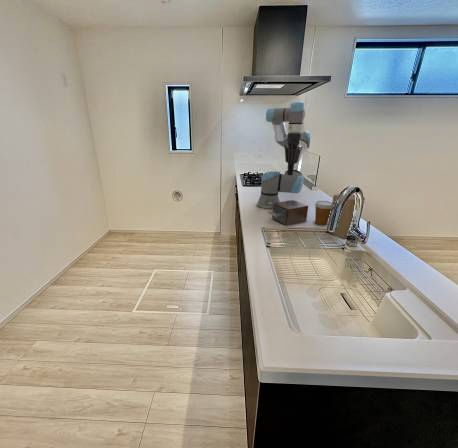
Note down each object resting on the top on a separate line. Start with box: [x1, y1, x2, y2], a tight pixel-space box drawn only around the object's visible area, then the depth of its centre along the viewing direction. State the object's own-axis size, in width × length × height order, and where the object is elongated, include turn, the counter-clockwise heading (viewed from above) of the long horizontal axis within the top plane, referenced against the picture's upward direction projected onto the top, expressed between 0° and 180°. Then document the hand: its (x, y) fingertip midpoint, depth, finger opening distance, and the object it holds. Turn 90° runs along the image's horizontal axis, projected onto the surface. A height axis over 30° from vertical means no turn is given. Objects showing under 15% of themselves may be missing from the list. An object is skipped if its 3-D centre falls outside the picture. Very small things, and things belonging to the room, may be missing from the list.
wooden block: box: [326, 193, 366, 239], centre depth 119 cm, size 10×10×20 cm
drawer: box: [267, 205, 287, 225], centre depth 138 cm, size 18×11×8 cm, turn 116°
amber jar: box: [314, 200, 332, 226], centre depth 134 cm, size 10×10×12 cm
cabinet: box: [274, 199, 309, 226], centre depth 139 cm, size 15×13×10 cm
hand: (289, 174), depth 143 cm, fingers closed
